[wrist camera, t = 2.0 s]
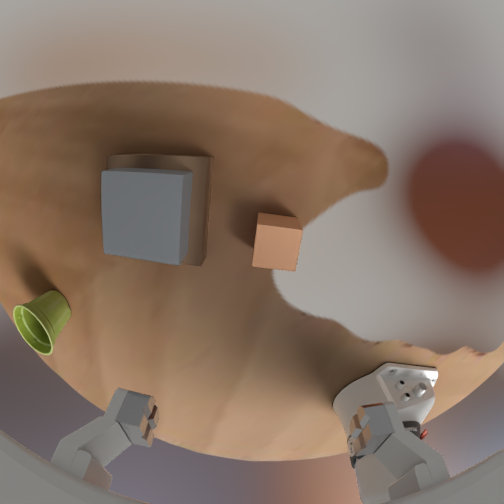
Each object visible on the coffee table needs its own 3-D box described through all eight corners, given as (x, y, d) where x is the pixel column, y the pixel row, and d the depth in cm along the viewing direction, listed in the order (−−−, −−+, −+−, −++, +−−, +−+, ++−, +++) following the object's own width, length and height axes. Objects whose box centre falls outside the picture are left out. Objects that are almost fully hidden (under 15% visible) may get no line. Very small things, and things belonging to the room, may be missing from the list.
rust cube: (297, 217, 31) (303, 230, 26) (290, 253, 33) (295, 271, 28) (258, 212, 31) (257, 224, 26) (253, 248, 33) (252, 266, 28)
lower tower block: (214, 156, 29) (208, 157, 26) (207, 254, 34) (201, 266, 30) (122, 153, 29) (107, 155, 26) (122, 243, 34) (109, 253, 30)
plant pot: (38, 305, 39) (12, 329, 30) (44, 270, 36) (13, 294, 27) (73, 334, 40) (50, 363, 32) (83, 303, 37) (54, 333, 29)
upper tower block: (193, 171, 27) (183, 175, 23) (187, 252, 30) (179, 265, 27) (117, 167, 27) (101, 171, 23) (118, 242, 30) (104, 253, 27)
